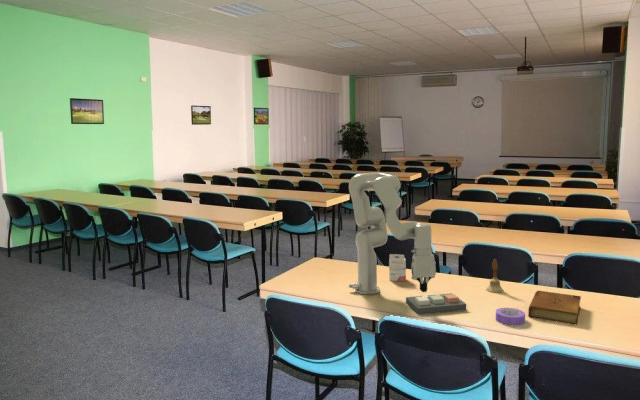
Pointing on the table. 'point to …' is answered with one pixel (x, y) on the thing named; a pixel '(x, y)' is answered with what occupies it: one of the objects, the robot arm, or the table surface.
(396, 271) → the ink cartridge box
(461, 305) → the keypad
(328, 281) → the table surface
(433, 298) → the key sage
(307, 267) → the table surface
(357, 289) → the robot arm
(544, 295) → the diary
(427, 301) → the key cream
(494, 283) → the hand bell
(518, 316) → the masking tape
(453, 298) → the key terracotta
